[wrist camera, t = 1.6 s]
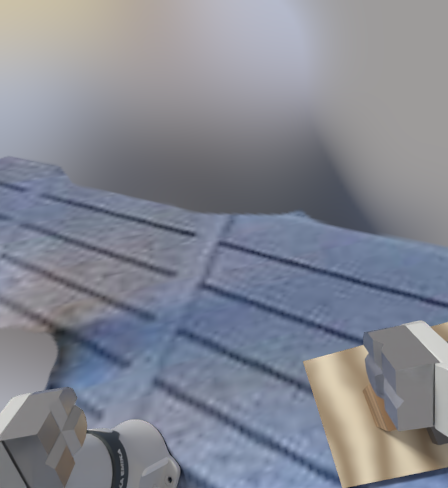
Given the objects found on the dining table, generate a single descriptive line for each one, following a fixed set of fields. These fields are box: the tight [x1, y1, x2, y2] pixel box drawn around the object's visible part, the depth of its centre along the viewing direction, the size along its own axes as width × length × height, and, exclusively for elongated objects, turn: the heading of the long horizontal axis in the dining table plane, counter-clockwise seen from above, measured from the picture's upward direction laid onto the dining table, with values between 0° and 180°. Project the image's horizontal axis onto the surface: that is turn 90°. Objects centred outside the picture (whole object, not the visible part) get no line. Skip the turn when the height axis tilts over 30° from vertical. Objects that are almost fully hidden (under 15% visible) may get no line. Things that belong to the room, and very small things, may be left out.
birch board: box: [303, 322, 448, 488], centre depth 51 cm, size 28×18×1 cm, turn 102°
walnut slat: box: [363, 384, 397, 431], centre depth 45 cm, size 3×5×16 cm, turn 12°
